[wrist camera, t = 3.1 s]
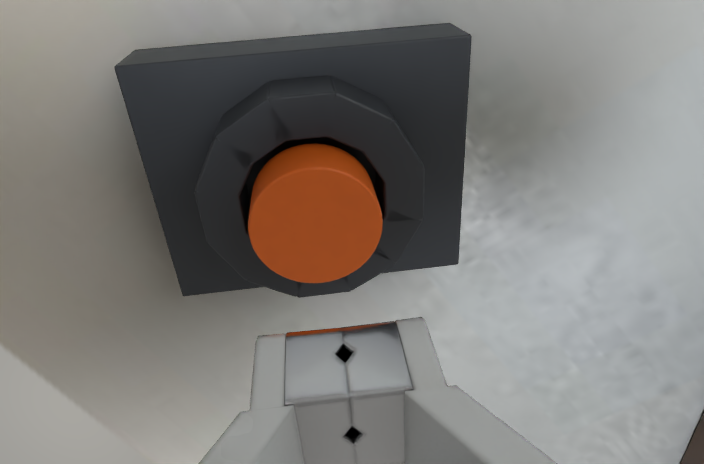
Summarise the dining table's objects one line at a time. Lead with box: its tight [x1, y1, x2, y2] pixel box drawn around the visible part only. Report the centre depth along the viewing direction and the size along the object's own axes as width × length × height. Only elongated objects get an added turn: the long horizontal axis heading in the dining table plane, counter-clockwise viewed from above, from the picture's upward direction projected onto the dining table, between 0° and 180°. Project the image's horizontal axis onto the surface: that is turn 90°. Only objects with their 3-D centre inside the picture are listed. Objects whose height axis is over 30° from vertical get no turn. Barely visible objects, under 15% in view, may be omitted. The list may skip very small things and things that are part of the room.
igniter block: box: [115, 23, 471, 297], centre depth 16 cm, size 10×8×4 cm
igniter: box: [248, 143, 383, 283], centre depth 14 cm, size 4×4×2 cm
